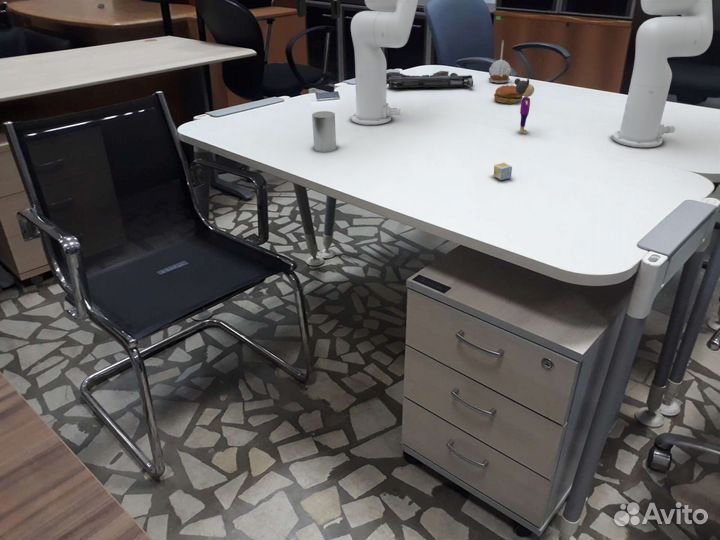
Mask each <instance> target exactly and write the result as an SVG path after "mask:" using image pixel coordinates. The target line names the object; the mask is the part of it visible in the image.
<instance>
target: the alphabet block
mask: <svg viewBox="0 0 720 540" xmlns="http://www.w3.org/2000/svg"><path fill="white" fill-rule="evenodd" d="M512 172H513V166H512V165H510V164H507V163H505V162H502V163H501V162H500V163H497V164H494V165H493V178H494V177H495V178H496V179H498V180H500V181H504V180H508V179H511V178H512Z"/></svg>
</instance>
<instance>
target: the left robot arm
mask: <svg viewBox="0 0 720 540" xmlns="http://www.w3.org/2000/svg"><path fill="white" fill-rule="evenodd" d="M418 3H419V0H364V4H365V6H366V8H368V9H369V10H363V11H359V12H357V13H356V14H355V15H354V16H353V17H352V19H351V22H350V32H351V33H350V34H351V38H352V39H351V40H352V45H353V50H354V51H353V52H354V71H355V74H354V76H355V109H356V111H355V113H353V114H352V115H351V121H352V122H354V123H355V124H359V125H366V126H373V125H374V126H375V125H377V126H378V125H382V124H386V123H389V122H390V121H391V120H392V116H398V117H399V116H401V109H400V108H398V107H390V106H389V103H388V102H387V85H386V73H387V69H388V68H387V66H388V65H387V59H386V56H385V53H384V52H383V50H382V48H392V49H393V48H394V49H399V48H402V47H404V46H405V45H406V44H407V43H408V41H409V38H410V35H411V31H412V28H413V23H414V19H415V15H416V11H417V8H418ZM295 6H296V13H297V18H303V17H306V16H307V3H306V0H295ZM341 7H342V5H341V0H331V1H330V16H331V19H332V20H336V19H339V18H341V14H342V10H341V9H342V8H341Z"/></svg>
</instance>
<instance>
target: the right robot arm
mask: <svg viewBox="0 0 720 540" xmlns="http://www.w3.org/2000/svg"><path fill="white" fill-rule="evenodd" d="M640 6H641V10H642V11H643V12H644V14H647V15H649V16H658V17H653V18H649V19H647V20H645V21H643V22H642V24H641V25H639V27H638V29H637V31H636V36H635V50H634V51H635V54H634V61H633V62H634V63H633V68H632V74H631V79H630V84H629V89H628V93H627V98H626V101H625V102H626V103H625V107H624V112H623V116H622V121H621V126H620V130H617V131H615V132H614V133H613V134H612V139H613V141H615V142H616V143H618V144H621V145H624V146H626V147H633V148H655V147H659V146H661V145H662V144H663V141H664V140H663V137H662V135H664V134H673V133H674V132H675V131H676V128H675V126H674V125H666V126H665V125H664V123H663V124H662V119H663V115H664V111H665V108H666V104H667V99H668V96H669V91H670V87H671V83H672V79H673V72H672V69H671V66H670V64H669V62H668V59H669V58H680V57H681V58H682V57H696V56H701V55H702V54H704V53H705V52H706V51H707V50H708V49H709V47H710V46H711V43H712V41H713V35H714V19H713V18H714V17H713V0H640ZM671 15H672V16H671ZM676 15H679V16H676Z"/></svg>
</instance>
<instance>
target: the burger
mask: <svg viewBox="0 0 720 540" xmlns="http://www.w3.org/2000/svg"><path fill="white" fill-rule="evenodd" d="M494 92H495V93H493V97H494V100H495V102H498V103H502V104H508V105H509V104H510V105H512V104H516V103H518V102H520V101H522V99H523V97H524V96H523V95H520V94H518V93H517V92H516V85H514V84H511V85H509V84H508V85H501V86H499V87H497V88H496V89H495V91H494Z"/></svg>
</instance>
